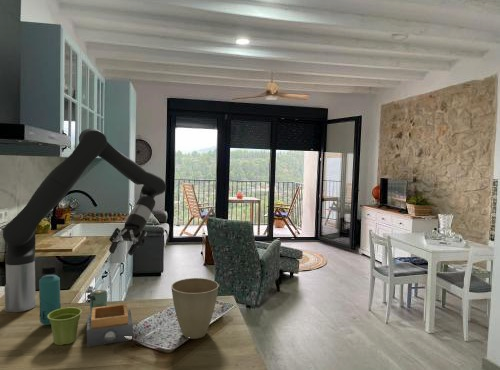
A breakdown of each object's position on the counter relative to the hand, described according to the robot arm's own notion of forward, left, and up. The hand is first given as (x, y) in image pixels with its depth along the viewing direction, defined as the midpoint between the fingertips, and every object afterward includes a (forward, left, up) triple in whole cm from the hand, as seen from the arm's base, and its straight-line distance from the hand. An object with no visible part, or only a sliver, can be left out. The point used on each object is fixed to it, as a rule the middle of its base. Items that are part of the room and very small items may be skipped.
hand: (120, 253), depth 144 cm
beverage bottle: (-23, -10, -20) cm, 32 cm away
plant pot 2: (+21, -32, -20) cm, 44 cm away
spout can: (-8, -10, -20) cm, 24 cm away
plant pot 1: (-17, -24, -20) cm, 36 cm away
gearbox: (-4, -24, -20) cm, 32 cm away
